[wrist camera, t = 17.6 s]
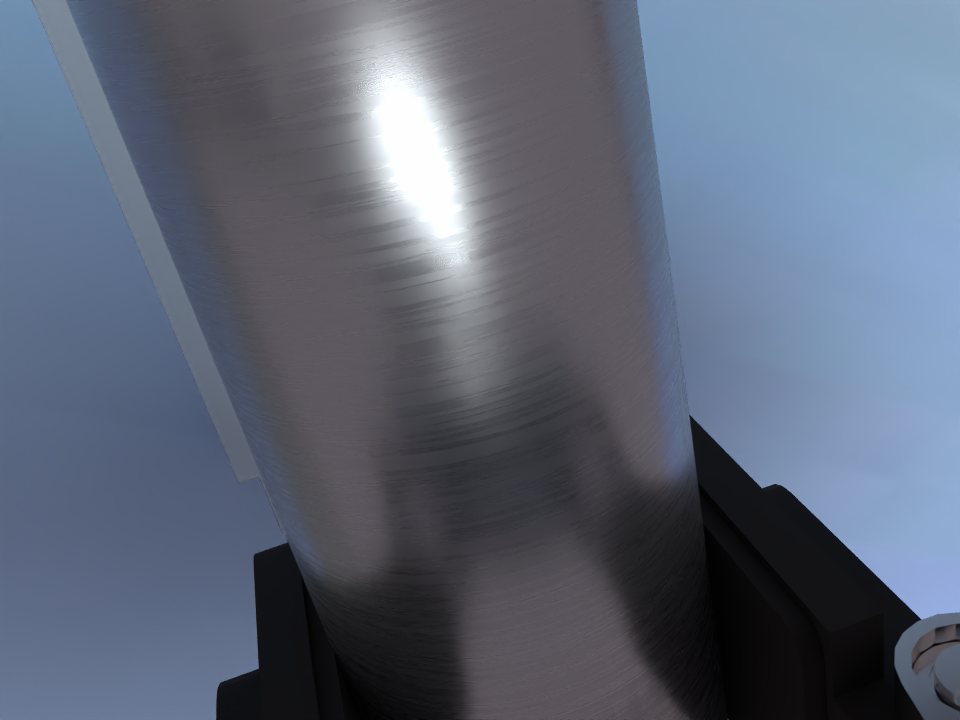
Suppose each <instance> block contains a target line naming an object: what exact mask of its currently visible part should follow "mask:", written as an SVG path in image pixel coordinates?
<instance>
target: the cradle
mask: <svg viewBox="0 0 960 720" xmlns="http://www.w3.org/2000/svg"><path fill="white" fill-rule="evenodd" d="M32 1H33V4H34V6H35V8H36V11H37V13H38V15H39V18H40V20H41V22H42V25H43V27H44V29H45V32H46V34H47V36H48V39H49V41H50V43H51V46H52V48H53V50H54V53H55V55H56V57H57V60H58V62H59V64H60V67H61V69H62V71H63V74H64V76H65V78H66V81H67V83H68V85H69V88H70V90H71V93H72V95H73V97H74V100H75V102H76V104H77V107H78V109H79V111H80V114H81V116H82V118H83V121H84V123H85V125H86V128H87V130H88V132H89V135H90V137H91V139H92V142H93V144H94V146H95V149H96V151H97V153H98V156H99V158H100V160H101V163H102V165H103V167H104V170H105V172H106V174H107V177H108V179H109V181H110V184H111V186H112V188H113V191H114V193H115V195H116V198H117V200H118V202H119V205H120V207H121V209H122V212H123V214H124V216H125V219H126V221H127V223H128V226H129V228H130V230H131V233H132V235H133V237H134V240H135V242H136V244H137V247H138V249H139V251H140V254H141V256H142V258H143V261H144V263H145V265H146V268H147V270H148V272H149V275H150V277H151V279H152V282H153V284H154V286H155V289H156V291H157V293H158V296H159V298H160V301H161V303H162V305H163V308H164V310H165V312H166V315H167V317H168V319H169V322H170V324H171V326H172V329H173V331H174V333H175V336H176V338H177V340H178V343H179V345H180V347H181V350H182V352H183V354H184V357H185V359H186V361H187V364H188V366H189V368H190V371H191V373H192V375H193V378H194V380H195V382H196V385H197V387H198V389H199V392H200V394H201V396H202V399H203V401H204V403H205V406H206V408H207V410H208V413H209V415H210V417H211V420H212V422H213V424H214V427H215V429H216V431H217V434H218V436H219V438H220V441H221V443H222V445H223V448H224V450H225V452H226V455H227V457H228V459H229V462H230V464H231V466H232V469H233V471H234V473H235V476H236V478H237V480H238V483H242V482H245V481H248V480H251V479H254V478H257V477H259V478H260V480H261V483H262V485H263V488H264V490H265V493H266V495H267V497H268V500H269V502H270V505H271V507H272V510H273V512H274V514H275V517H276V519H277V522H278V524H279V527H280V529H281V531H282V533H284V531H283V528H282V526H281V523H280V521H279V518H278V516H277V514H276V511H275V509H274V506H273V504H272V501H271V499H270V496H269V494H268V492H267V489H266V487H265V484H264V482H263V479H262V477H261V475H260V472H259V470H258V467H257V465H256V462H255V460H254V458H253V455H252V453H251V450H250V448H249V445H248V443H247V440H246V438H245V436H244V433H243V431H242V428H241V426H240V423H239V421H238V419H237V416H236V414H235V411H234V409H233V406H232V404H231V402H230V399H229V397H228V394H227V392H226V389H225V387H224V384H223V382H222V380H221V377H220V375H219V372H218V370H217V367H216V365H215V363H214V360H213V358H212V355H211V353H210V350H209V348H208V346H207V343H206V341H205V338H204V336H203V333H202V331H201V328H200V326H199V324H198V321H197V319H196V316H195V314H194V311H193V309H192V307H191V304H190V302H189V299H188V297H187V294H186V292H185V290H184V287H183V285H182V282H181V280H180V277H179V275H178V272H177V270H176V268H175V265H174V263H173V260H172V258H171V255H170V253H169V251H168V248H167V246H166V243H165V241H164V238H163V236H162V233H161V231H160V229H159V226H158V224H157V221H156V219H155V216H154V214H153V212H152V209H151V207H150V204H149V202H148V199H147V197H146V195H145V192H144V190H143V187H142V185H141V182H140V180H139V177H138V175H137V173H136V170H135V168H134V165H133V163H132V160H131V158H130V156H129V153H128V151H127V148H126V146H125V143H124V141H123V139H122V136H121V134H120V131H119V129H118V126H117V124H116V121H115V119H114V117H113V114H112V112H111V109H110V107H109V104H108V102H107V100H106V97H105V95H104V92H103V90H102V87H101V85H100V83H99V80H98V78H97V75H96V73H95V70H94V68H93V65H92V63H91V61H90V58H89V56H88V53H87V51H86V48H85V46H84V44H83V41H82V39H81V36H80V34H79V31H78V29H77V27H76V24H75V22H74V19H73V17H72V14H71V12H70V9H69V7H68V5H67V2H66V0H32Z"/></svg>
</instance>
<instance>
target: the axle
mask: <svg viewBox="0 0 960 720" xmlns="http://www.w3.org/2000/svg"><path fill="white" fill-rule="evenodd" d="M66 2H67V5H68V7H69V9H70V12H71V14H72V17H73V19H74V22H75V24H76V27H77V29H78V31H79V34H80V36H81V39H82V41H83V44H84V46H85V48H86V51H87V53H88V56H89V58H90V61H91V63H92V65H93V68H94V70H95V73H96V75H97V78H98V80H99V83H100V85H101V87H102V90H103V92H104V95H105V97H106V100H107V102H108V104H109V107H110V109H111V112H112V114H113V117H114V119H115V121H116V124H117V126H118V129H119V131H120V134H121V136H122V139H123V141H124V143H125V146H126V148H127V151H128V153H129V156H130V158H131V160H132V163H133V165H134V168H135V170H136V173H137V175H138V177H139V180H140V182H141V185H142V187H143V190H144V192H145V195H146V197H147V199H148V202H149V204H150V207H151V209H152V212H153V214H154V216H155V219H156V221H157V224H158V226H159V229H160V231H161V233H162V236H163V238H164V241H165V243H166V246H167V248H168V251H169V253H170V255H171V258H172V260H173V263H174V265H175V268H176V270H177V272H178V275H179V277H180V280H181V282H182V285H183V287H184V290H185V292H186V294H187V297H188V299H189V302H190V304H191V307H192V309H193V311H194V314H195V316H196V319H197V321H198V324H199V326H200V328H201V331H202V333H203V336H204V338H205V341H206V343H207V346H208V348H209V350H210V353H211V355H212V358H213V360H214V363H215V365H216V367H217V370H218V372H219V375H220V377H221V380H222V382H223V384H224V387H225V389H226V392H227V394H228V397H229V399H230V402H231V404H232V406H233V409H234V411H235V414H236V416H237V419H238V421H239V423H240V426H241V428H242V431H243V433H244V436H245V438H246V440H247V443H248V445H249V448H250V450H251V453H252V455H253V458H254V460H255V462H256V465H257V467H258V470H259V472H260V475H261V477H262V479H263V482H264V484H265V487H266V489H267V492H268V494H269V496H270V499H271V501H272V504H273V506H274V509H275V511H276V514H277V516H278V518H279V521H280V523H281V526H282V528H283V531H284V533H285V535H286V538H287V540H288V543H289V545H290V548H291V550H292V552H293V555H294V557H295V560H296V562H297V565H298V567H299V570H300V572H301V574H302V577H303V579H304V582H305V584H306V587H307V589H308V591H309V594H310V596H311V599H312V601H313V604H314V606H315V608H316V611H317V613H318V616H319V618H320V621H321V623H322V626H323V628H324V630H325V633H326V635H327V638H328V640H329V642H330V644H331V646H332V648H333V650H334V652H335V654H336V657H337V659H338V662H339V664H340V667H341V669H342V671H343V674H344V676H345V679H346V681H347V684H348V686H349V689H350V691H351V693H352V696H353V698H354V701H355V703H356V706H357V708H358V711H359V713H360V715H361V718H362V720H728V718H727V710H726V702H725V694H724V686H723V678H722V670H721V662H720V655H719V647H718V639H717V631H716V623H715V615H714V607H713V599H712V591H711V583H710V576H709V568H708V560H707V552H706V544H705V536H704V528H703V520H702V512H701V505H700V497H699V489H698V481H697V473H696V465H695V457H694V449H693V441H692V433H691V426H690V418H689V410H688V402H687V394H686V386H685V378H684V370H683V362H682V355H681V347H680V339H679V331H678V323H677V315H676V307H675V299H674V291H673V283H672V276H671V268H670V260H669V252H668V244H667V236H666V228H665V220H664V212H663V205H662V197H661V189H660V181H659V173H658V165H657V157H656V149H655V141H654V133H653V126H652V118H651V110H650V102H649V94H648V86H647V78H646V70H645V62H644V55H643V47H642V39H641V31H640V23H639V15H638V7H637V0H66Z"/></svg>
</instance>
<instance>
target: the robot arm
mask: <svg viewBox="0 0 960 720" xmlns="http://www.w3.org/2000/svg"><path fill="white" fill-rule="evenodd" d="M689 418H690V426H691V433H692V441H693V449H694V457H695V465H696V473H697V481H698V489H699V497H700V505H701V512H702V520H703V528H704V536H705V544H706V552H707V560H708V568H709V576H710V583H711V591H712V599H713V607H714V615H715V623H716V631H717V639H718V647H719V655H720V662H721V670H722V678H723V686H724V694H725V702H726V710H727V718H728V720H960V612H959V613H948V614H937V615H934V616H932V617H929V618H926V619H923V620H921V619H920V618H919V617H918V616H917V615H916V614H915V613H914V612H913V611H912V610H911V609H910V608H909V607H908V606H907V605H906V604H905V603H904V602H903V601H902V600H901V599H900V598H899V597H898V596H897V595H896V594H895V593H894V592H893V591H892V590H891V589H889V588H888V587H887V586H886V585H885V584H884V583H883V582H882V581H881V580H880V579H879V578H878V577H877V576H876V575H875V574H874V573H873V572H872V571H871V570H870V569H869V568H868V567H867V566H866V565H865V564H864V563H863V562H862V561H861V560H860V559H859V558H858V557H857V556H856V555H855V554H853V553H852V552H851V551H850V550H849V549H848V548H847V547H846V546H845V545H844V544H843V543H842V542H841V541H840V540H839V539H838V538H837V537H836V536H835V535H834V534H833V533H832V532H831V531H830V530H829V529H828V528H827V527H826V526H825V525H824V524H823V523H822V522H821V521H820V520H819V519H818V518H816V517H815V516H814V515H813V514H812V513H811V512H810V511H809V510H808V509H807V508H806V507H805V506H804V505H803V504H802V503H801V502H800V501H799V500H798V499H797V498H796V497H795V496H794V495H793V494H792V493H791V492H789V491H788V490H787V489H786V488H784V487H783V486H781V485H777V484H773V485H771V486H768V487H765V488H761V487H760V486H759V485H758V484H757V483H756V482H755V481H754V480H753V479H752V478H751V477H750V476H749V475H748V474H747V473H746V472H745V471H744V470H743V469H742V468H741V467H740V466H739V465H738V464H737V463H736V462H735V461H734V460H733V459H732V458H731V457H730V456H729V455H728V454H727V453H726V452H725V450H724V449H723V448H722V447H721V446H720V445H719V444H718V443H717V442H716V441H715V440H714V439H713V438H712V437H711V436H710V435H709V434H708V433H707V432H706V431H705V430H704V429H703V428H702V427H701V426H700V425H699V424H698V423H697V422H696V421H695V420H694V419H693V418H692V417H691V416H690V415H689ZM254 580H255V600H256V620H257V639H258V659H259V669H257V670H254V671H252V672H249V673H246V674H243V675H240V676H238V677H235V678H232V679H229V680H226V681H224V682H221V683H220V685H219V687H218V689H217V703H216V720H362V718H361V715H360V713H359V711H358V708H357V706H356V703H355V701H354V698H353V696H352V693H351V691H350V689H349V686H348V684H347V681H346V679H345V676H344V674H343V671H342V669H341V667H340V664H339V662H338V659H337V657H336V654H335V652H334V650H333V648H332V646H331V644H330V642H329V640H328V638H327V635H326V633H325V630H324V628H323V626H322V623H321V621H320V618H319V616H318V613H317V611H316V608H315V606H314V604H313V601H312V599H311V596H310V594H309V591H308V589H307V587H306V584H305V582H304V579H303V577H302V574H301V572H300V570H299V567H298V565H297V562H296V560H295V557H294V555H293V552H292V550H291V548H290V545H289V543H285V544H282V545H280V546H277V547H274V548H271V549H268V550H265V551H262V552H259V553H256V554H255V555H254Z"/></svg>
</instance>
